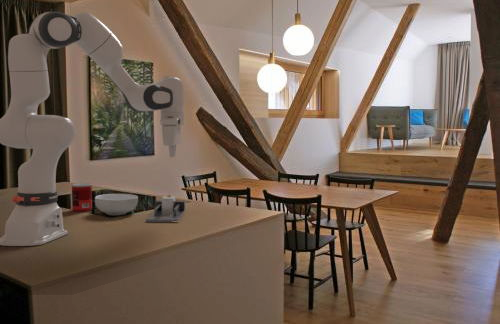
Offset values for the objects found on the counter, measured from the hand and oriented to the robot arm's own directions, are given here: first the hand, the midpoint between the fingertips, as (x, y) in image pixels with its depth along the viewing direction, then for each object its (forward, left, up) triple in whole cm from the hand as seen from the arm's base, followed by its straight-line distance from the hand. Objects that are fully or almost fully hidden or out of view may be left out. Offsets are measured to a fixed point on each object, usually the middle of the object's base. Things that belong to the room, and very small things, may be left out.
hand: (172, 156), depth 178 cm
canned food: (+16, +40, -24) cm, 49 cm away
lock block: (+9, +3, -23) cm, 25 cm away
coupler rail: (+5, +3, -24) cm, 25 cm away
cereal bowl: (+10, +24, -24) cm, 36 cm away
